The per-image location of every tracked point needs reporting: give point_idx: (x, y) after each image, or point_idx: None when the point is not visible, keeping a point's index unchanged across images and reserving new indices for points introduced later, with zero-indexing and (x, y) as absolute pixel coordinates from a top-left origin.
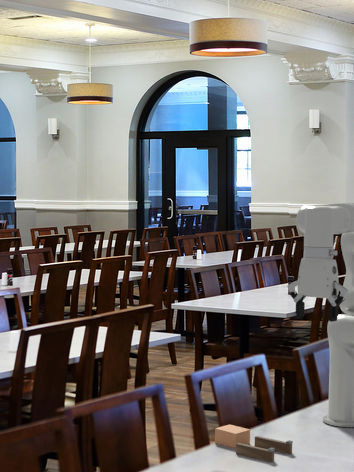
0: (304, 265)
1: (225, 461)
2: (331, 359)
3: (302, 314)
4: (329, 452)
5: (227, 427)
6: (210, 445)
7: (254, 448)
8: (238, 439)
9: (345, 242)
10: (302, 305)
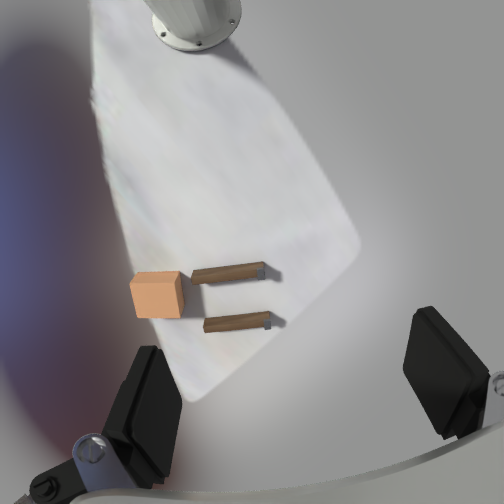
0: None
1: (221, 352)
2: None
3: (165, 379)
4: (301, 204)
5: (142, 300)
6: None
7: (238, 329)
8: (181, 305)
9: None
10: (152, 436)
